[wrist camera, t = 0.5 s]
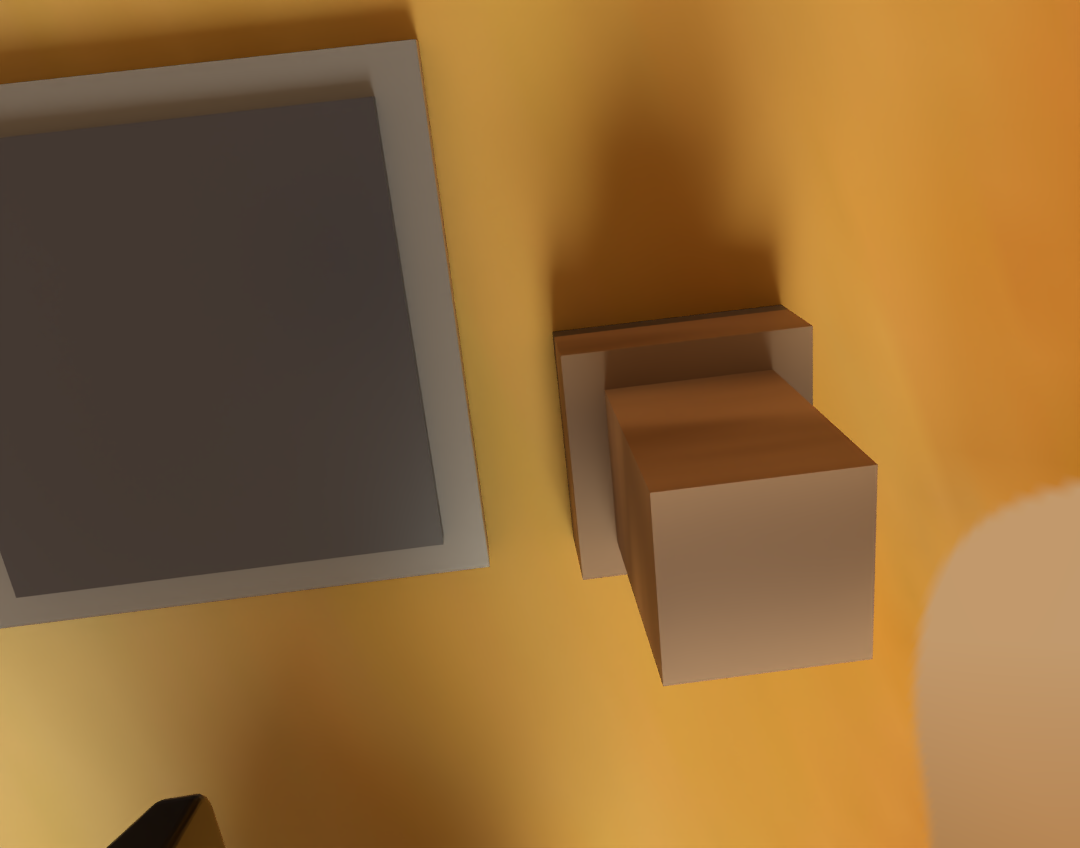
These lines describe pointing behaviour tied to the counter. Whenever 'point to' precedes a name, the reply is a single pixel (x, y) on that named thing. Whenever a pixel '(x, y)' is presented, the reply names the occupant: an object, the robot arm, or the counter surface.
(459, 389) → the ink pad
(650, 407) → the stamp
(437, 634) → the counter surface
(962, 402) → the counter surface
